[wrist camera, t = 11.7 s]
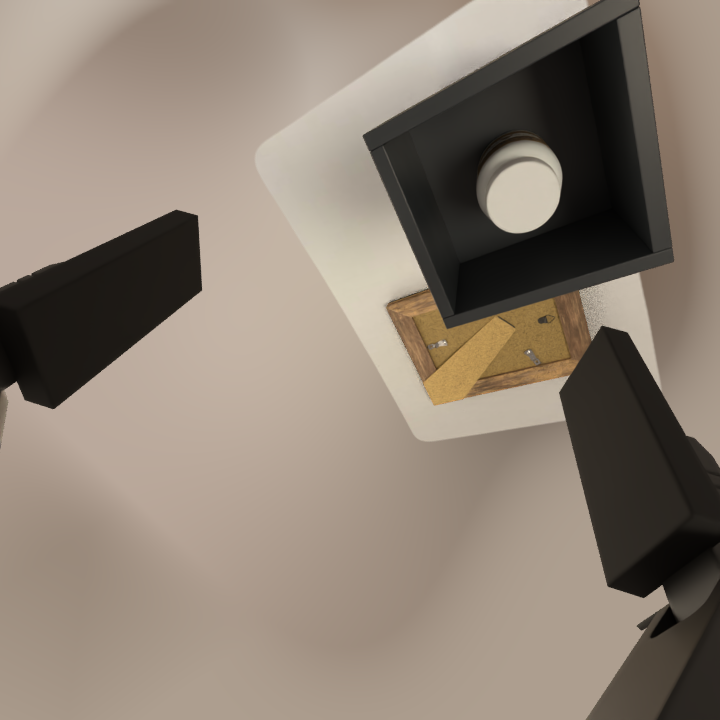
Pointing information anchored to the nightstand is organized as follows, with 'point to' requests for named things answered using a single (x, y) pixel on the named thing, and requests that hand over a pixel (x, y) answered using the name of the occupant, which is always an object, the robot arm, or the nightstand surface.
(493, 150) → the pill bottle
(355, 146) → the nightstand surface
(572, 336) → the picture frame
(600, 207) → the legged open box
